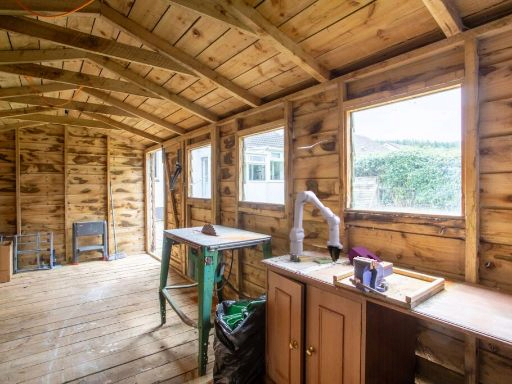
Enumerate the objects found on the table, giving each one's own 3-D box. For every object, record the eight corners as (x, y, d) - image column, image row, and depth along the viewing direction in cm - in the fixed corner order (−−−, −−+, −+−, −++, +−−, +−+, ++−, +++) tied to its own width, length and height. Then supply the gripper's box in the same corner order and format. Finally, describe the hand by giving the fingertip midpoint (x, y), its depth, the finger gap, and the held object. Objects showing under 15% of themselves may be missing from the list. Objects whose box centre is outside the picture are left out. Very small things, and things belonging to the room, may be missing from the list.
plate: (295, 259, 186) (294, 256, 186) (306, 258, 188) (306, 255, 188) (300, 263, 178) (300, 259, 178) (312, 261, 180) (312, 257, 180)
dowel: (331, 260, 181) (330, 250, 181) (335, 259, 182) (335, 250, 182) (333, 261, 178) (333, 251, 178) (338, 260, 179) (338, 251, 179)
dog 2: (292, 261, 180) (292, 254, 180) (297, 261, 181) (297, 254, 181) (294, 262, 177) (294, 256, 177) (299, 262, 178) (299, 255, 178)
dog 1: (289, 259, 185) (289, 253, 185) (294, 259, 186) (294, 252, 186) (291, 260, 182) (291, 254, 182) (296, 260, 183) (295, 253, 183)
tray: (314, 260, 180) (313, 258, 180) (325, 259, 183) (325, 257, 183) (320, 264, 173) (320, 261, 173) (332, 262, 175) (332, 260, 175)
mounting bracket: (381, 276, 165) (357, 257, 179) (387, 264, 162) (362, 245, 176) (370, 279, 160) (346, 259, 174) (376, 267, 157) (351, 247, 171)
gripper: (322, 234, 186) (322, 256, 186) (334, 238, 172) (335, 261, 172) (332, 234, 188) (332, 255, 188) (345, 237, 174) (345, 260, 174)
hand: (334, 258), depth 180 cm, fingers open, 4 cm apart
